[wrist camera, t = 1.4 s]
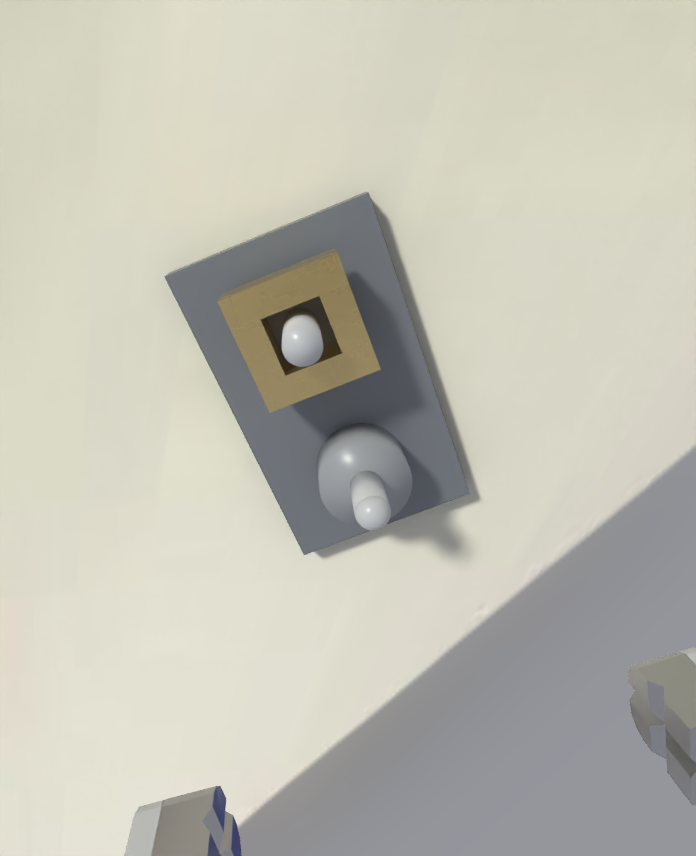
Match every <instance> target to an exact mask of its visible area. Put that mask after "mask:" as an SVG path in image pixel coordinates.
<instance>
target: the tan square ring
mask: <svg viewBox="0 0 696 856" xmlns="http://www.w3.org/2000/svg"><path fill="white" fill-rule="evenodd" d="M318 296H320V299H321V301H322V304H323V307H324V309H325V312H326V314H327V317H328V319H329V322H330V324H331V327H332V329H333V332H334V334H335V337H336V339H337V342H336V343H334V344H331V345H329V346H326V347H324V348H323V352H322V355H321V357H320V358H319V360H318V361H317V362H315V363H314V364H312V365H310V366H306V367H299V366H295V365H293V364H291V363H290V362H289V361H288V362H285V359H284V357H283V355H282V352H281V350H280V348H279V346H278V343H277V341H276V339H275V337H274V334H273V332H272V330H271V328H270V325H269V323H268V321H267V319H266V317H268V316H270V315H273V314H275V313H278V312H280V311H283V310H285V309H288V308H290V307H293V306H295V305H298V304H300V303H303V302H305V301H308V300H310V299H313V298H315V297H318ZM217 303H218V305H219V307H220V309H221V311H222V313H223V315H224V317H225V320H226V322H227V324H228V326H229V328H230V330H231V332H232V334H233V337H234V339H235V341H236V343H237V345H238V347H239V349H240V351H241V353H242V356H243V358H244V360H245V362H246V364H247V366H248V368H249V370H250V372H251V375H252V377H253V379H254V381H255V383H256V385H257V387H258V389H259V392H260V394H261V396H262V398H263V400H264V402H265V404H266V406H267V408H268V411H269V413H271V412H274V411H276V410H279V409H281V408H284V407H286V406H289V405H292V404H294V403H297V402H299V401H302V400H304V399H307V398H309V397H312V396H315V395H317V394H320V393H322V392H325V391H327V390H330V389H332V388H335V387H338V386H340V385H343V384H345V383H348V382H350V381H353V380H355V379H358V378H361V377H363V376H366V375H368V374H371V373H373V372H376V371H379V370H381V368H380V366H379V363H378V360H377V358H376V355H375V352H374V350H373V347H372V344H371V341H370V339H369V336H368V333H367V331H366V328H365V325H364V323H363V320H362V317H361V315H360V312H359V309H358V307H357V304H356V301H355V298H354V296H353V293H352V290H351V288H350V285H349V282H348V280H347V277H346V274H345V272H344V269H343V266H342V264H341V261H340V258H339V255H338V253H337V251H336V250H335V248H332V249H330V250H327V251H325V252H322V253H320V254H317V255H315V256H312V257H310V258H308V259H305V260H303V261H300V262H298V263H295V264H293V265H290V266H288V267H285V268H283V269H281V270H278V271H276V272H273V273H271V274H268V275H266V276H263V277H261V278H258V279H256V280H253V281H251V282H249V283H246V284H244V285H241V286H239V287H236V288H234V289H231V290H229V291H226V292H224V293H222V295H221V296H220V298H219V299H218V301H217Z"/></svg>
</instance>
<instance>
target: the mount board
mask: <svg viewBox="0 0 696 856" xmlns="http://www.w3.org/2000/svg"><path fill="white" fill-rule="evenodd" d="M332 248H335V250H336V251H337V253H338V255H339V258H340V261H341V264H342V266H343V269H344V272H345V274H346V277H347V280H348V282H349V285H350V288H351V290H352V293H353V296H354V298H355V301H356V304H357V307H358V309H359V312H360V315H361V317H362V320H363V323H364V325H365V328H366V331H367V333H368V336H369V339H370V341H371V344H372V347H373V350H374V352H375V355H376V358H377V360H378V363H379V366H380V368H381V370H379V371H376V372H373V373H371V374H368V375H366V376H363V377H361V378H358V379H355V380H353V381H350V382H348V383H345V384H343V385H340V386H338V387H335V388H332V389H330V390H327V391H325V392H322V393H320V394H317V395H315V396H312V397H309V398H307V399H304V400H302V401H299V402H297V403H294V404H292V405H289V406H286V407H284V408H281V409H279V410H276V411H274V412H271V413H269V411H268V408H267V406H266V404H265V402H264V400H263V398H262V396H261V394H260V392H259V389H258V387H257V385H256V383H255V381H254V379H253V377H252V375H251V372H250V370H249V368H248V366H247V364H246V362H245V360H244V358H243V356H242V353H241V351H240V349H239V347H238V345H237V343H236V341H235V339H234V337H233V334H232V332H231V330H230V328H229V326H228V324H227V322H226V320H225V317H224V315H223V313H222V311H221V309H220V307H219V305H218V303H217V301H218V299H219V298H220V296H221V295H222V293H224V292H226V291H229V290H231V289H234V288H236V287H239V286H241V285H244V284H246V283H249V282H251V281H253V280H256V279H258V278H261V277H263V276H266V275H268V274H271V273H273V272H276V271H278V270H281V269H283V268H285V267H288V266H290V265H293V264H295V263H298V262H300V261H303V260H305V259H308V258H310V257H312V256H315V255H317V254H320V253H322V252H325V251H327V250H330V249H332ZM165 279H166V281H167V283H168V285H169V287H170V289H171V291H172V293H173V295H174V297H175V299H176V301H177V303H178V305H179V307H180V308H181V310H182V312H183V314H184V316H185V318H186V320H187V322H188V324H189V326H190V328H191V330H192V332H193V334H194V336H195V338H196V340H197V342H198V344H199V346H200V348H201V350H202V352H203V354H204V356H205V358H206V360H207V362H208V364H209V366H210V368H211V370H212V372H213V374H214V376H215V378H216V380H217V382H218V384H219V386H220V388H221V390H222V392H223V394H224V396H225V398H226V400H227V402H228V404H229V406H230V408H231V410H232V412H233V414H234V416H235V418H236V420H237V422H238V424H239V426H240V428H241V430H242V432H243V434H244V436H245V438H246V440H247V442H248V444H249V446H250V448H251V450H252V452H253V454H254V456H255V458H256V460H257V462H258V464H259V466H260V468H261V470H262V472H263V474H264V476H265V478H266V480H267V482H268V484H269V486H270V488H271V490H272V492H273V494H274V496H275V498H276V500H277V502H278V504H279V506H280V508H281V510H282V512H283V514H284V516H285V518H286V520H287V522H288V524H289V526H290V528H291V530H292V532H293V534H294V536H295V538H296V540H297V542H298V544H299V546H300V548H301V550H302V552H303V554H304V555H306V554H308V553H311V552H314V551H316V550H319V549H322V548H324V547H327V546H330V545H332V544H335V543H338V542H340V541H343V540H346V539H348V538H351V537H354V536H356V535H359V534H362V533H365V532H367V531H370V530H378V529H381V528H382V527H384V526H385V525H386V524H389V523H391V522H394V521H397V520H399V519H402V518H405V517H407V516H410V515H413V514H415V513H418V512H421V511H423V510H426V509H429V508H432V507H434V506H437V505H440V504H442V503H445V502H448V501H450V500H453V499H456V498H458V497H461V496H464V495H466V494H469V490H468V487H467V484H466V481H465V478H464V475H463V472H462V469H461V466H460V463H459V460H458V457H457V454H456V451H455V448H454V445H453V442H452V439H451V436H450V433H449V430H448V427H447V424H446V421H445V418H444V415H443V412H442V409H441V406H440V403H439V400H438V397H437V394H436V391H435V389H434V386H433V383H432V380H431V377H430V374H429V371H428V368H427V365H426V362H425V359H424V356H423V353H422V350H421V347H420V344H419V341H418V338H417V335H416V332H415V329H414V326H413V323H412V320H411V317H410V314H409V311H408V308H407V305H406V302H405V299H404V296H403V293H402V290H401V287H400V284H399V281H398V278H397V275H396V273H395V270H394V267H393V264H392V261H391V258H390V255H389V252H388V249H387V246H386V243H385V240H384V237H383V234H382V231H381V228H380V225H379V222H378V219H377V216H376V213H375V210H374V207H373V204H372V201H371V198H370V195H369V193H368V192H365V193H362V194H360V195H358V196H355V197H353V198H350V199H348V200H345V201H343V202H341V203H338V204H336V205H333V206H331V207H328V208H326V209H324V210H321V211H319V212H316V213H314V214H311V215H309V216H307V217H304V218H302V219H299V220H297V221H294V222H292V223H290V224H287V225H285V226H282V227H280V228H277V229H275V230H273V231H270V232H268V233H265V234H263V235H260V236H258V237H256V238H253V239H251V240H248V241H246V242H243V243H241V244H239V245H236V246H234V247H231V248H229V249H226V250H224V251H222V252H219V253H217V254H214V255H212V256H209V257H207V258H205V259H202V260H200V261H197V262H195V263H192V264H190V265H188V266H185V267H183V268H180V269H178V270H175V271H173V272H171V273H169V274H167V275H166V276H165ZM266 319H267V321H268V323H269V325H270V328H271V330H272V332H273V334H274V337H275V339H276V341H277V343H278V346H279V348H280V350H281V352H282V355H283V357H284V359H285V362H288V361H289V362H290V363H291V364H293V365H295V366H299V367H306V366H310V365H312V364H314V363H315V362H317V361H318V360H319V358H320V357H321V355H322V352H323V348H324V347H326V346H329V345H331V344H334V343H336V342H337V339H336V337H335V334H334V332H333V329H332V327H331V324H330V322H329V319H328V317H327V314H326V312H325V309H324V307H323V304H322V301H321V299H320V296H318V297H315V298H313V299H310V300H308V301H305V302H303V303H300V304H298V305H295V306H293V307H290V308H288V309H285V310H283V311H280V312H278V313H275V314H273V315H270V316H268V317H266Z"/></svg>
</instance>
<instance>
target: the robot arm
mask: <svg viewBox="0 0 696 856" xmlns="http://www.w3.org/2000/svg"><path fill="white" fill-rule="evenodd" d="M628 682H629V683H630V685H631V686H632V687H633V688H634V690H635V692H634V694H633V695H632V697H631V699H630V705H631V713H632V716H633V719H634V722H635V724H636V727H637V729H638V731H639V732H640V735H641V736H642V738H643V740H644V741H645V742H646V744H647V745H648V747H649V748H650V749H651V751H653V752H654V753H656V754H658V755H660V756H662V757H664V758H666V759H667V770H668V771H667V772H668V773H669V775H670V776H671V777H672V779H673V780H674V782H675V783H676V784H677V785H678V787H679V788H680V789H681V791H682V792H683V793H684V795H685V796H686V797H687V799H688V800H689V801H690V803H691V804H692V805H695V804H696V647H693V648H690V649H686V650H683V651H680V652H678V653H672V654H669V655H665V656H662V657H659V658H655V659H652V660H649V661H645V662H642V663H639V664H636V665H632V666H630V667H629V670H628ZM225 807H226V797H225V795H224V793H223V791H222V789H221V787H220V786H215V787H211V788H207V789H204V790H200V791H196V792H192V793H188V794H184V795H180V796H177V797H173V798H169V799H166V800H163V801H159V802H155V803H151V804H148V805H144V806H140V807H139V808H138V810H137V812H136V813H135V815H134V817H133V821H132V826H131V830H130V834H129V838H128V842H127V847H126V851H125V855H124V856H241V845H240V836H239V832H238V828H237V824H236V822H235V819H234V817H233V815H231V814H230V813H228V812H226V811H225Z"/></svg>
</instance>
